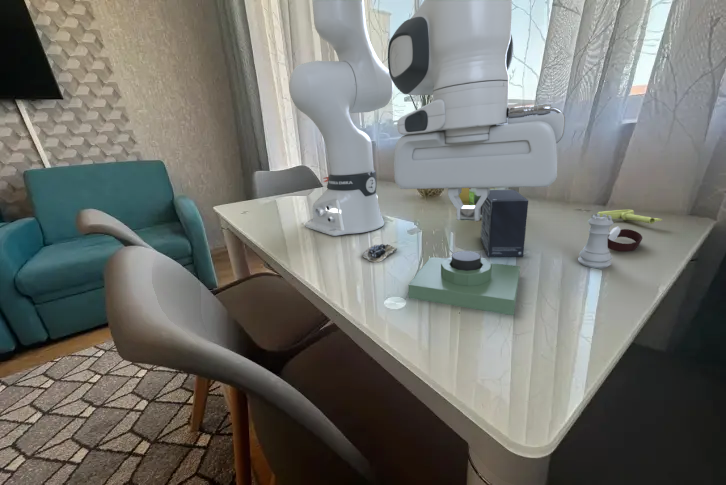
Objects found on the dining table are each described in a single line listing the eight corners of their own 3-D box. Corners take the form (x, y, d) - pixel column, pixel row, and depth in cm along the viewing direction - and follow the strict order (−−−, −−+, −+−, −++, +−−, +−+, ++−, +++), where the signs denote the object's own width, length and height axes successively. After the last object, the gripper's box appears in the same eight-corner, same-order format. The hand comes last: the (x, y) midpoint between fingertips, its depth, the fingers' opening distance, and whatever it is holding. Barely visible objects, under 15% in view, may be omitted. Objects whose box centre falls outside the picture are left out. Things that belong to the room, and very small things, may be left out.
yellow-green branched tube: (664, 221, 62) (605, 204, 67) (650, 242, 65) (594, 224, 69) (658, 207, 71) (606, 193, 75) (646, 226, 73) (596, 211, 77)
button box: (408, 298, 47) (407, 273, 46) (430, 268, 56) (430, 247, 55) (513, 315, 41) (515, 287, 39) (519, 279, 50) (521, 255, 48)
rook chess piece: (571, 262, 53) (577, 215, 51) (589, 256, 55) (596, 211, 52) (599, 271, 50) (607, 221, 47) (617, 265, 51) (626, 216, 48)
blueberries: (399, 247, 67) (398, 239, 67) (393, 263, 60) (392, 253, 59) (368, 247, 69) (367, 239, 68) (358, 262, 62) (357, 253, 61)
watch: (618, 239, 61) (621, 220, 60) (648, 245, 57) (652, 226, 56) (594, 248, 58) (597, 229, 57) (625, 256, 54) (629, 235, 53)
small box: (526, 257, 57) (531, 199, 53) (487, 257, 58) (489, 201, 55) (512, 238, 67) (516, 187, 63) (479, 238, 68) (481, 189, 65)
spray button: (448, 270, 46) (448, 259, 46) (455, 260, 50) (455, 249, 49) (477, 273, 45) (478, 262, 44) (482, 262, 48) (482, 252, 47)
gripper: (565, 102, 38) (554, 215, 42) (403, 121, 48) (407, 212, 52) (568, 99, 33) (556, 229, 37) (385, 122, 42) (392, 223, 47)
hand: (468, 219), depth 45 cm, fingers closed
